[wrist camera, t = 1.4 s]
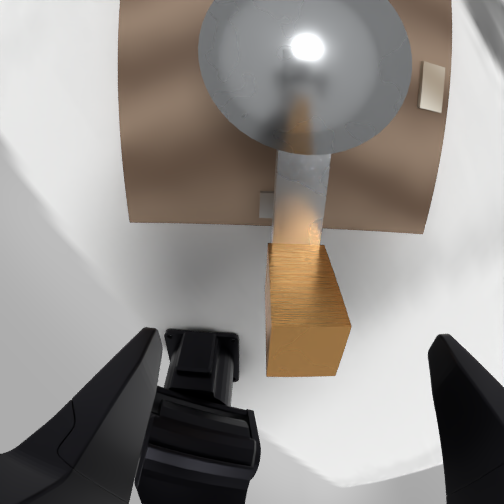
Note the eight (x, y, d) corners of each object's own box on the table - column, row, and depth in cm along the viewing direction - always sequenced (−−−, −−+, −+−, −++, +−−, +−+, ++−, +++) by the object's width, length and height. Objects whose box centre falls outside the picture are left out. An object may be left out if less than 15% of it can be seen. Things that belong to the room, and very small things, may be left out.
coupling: (357, 258, 17) (405, 370, 10) (212, 253, 17) (184, 371, 10) (386, -3, 10) (485, -50, 3) (213, -21, 10) (168, -106, 3)
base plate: (414, 224, 21) (441, 256, 17) (137, 213, 21) (112, 244, 17) (437, -34, 11) (471, -49, 7) (136, -59, 11) (109, -83, 7)
